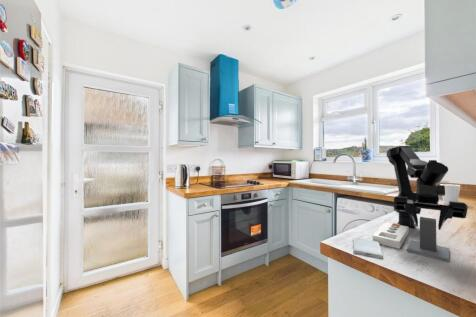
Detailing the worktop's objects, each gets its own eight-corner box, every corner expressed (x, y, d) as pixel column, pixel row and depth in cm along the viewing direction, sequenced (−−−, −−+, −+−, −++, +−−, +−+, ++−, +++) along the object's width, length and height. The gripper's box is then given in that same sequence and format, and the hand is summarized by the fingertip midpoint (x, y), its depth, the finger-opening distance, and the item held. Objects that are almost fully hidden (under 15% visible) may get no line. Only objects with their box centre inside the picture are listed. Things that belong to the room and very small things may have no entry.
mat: (411, 241, 76) (411, 239, 76) (449, 250, 69) (449, 248, 69) (406, 251, 69) (406, 248, 69) (449, 261, 61) (449, 259, 61)
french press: (437, 200, 150) (437, 166, 150) (428, 197, 161) (428, 166, 161) (454, 201, 147) (454, 166, 147) (444, 198, 158) (443, 166, 158)
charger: (420, 244, 72) (420, 216, 72) (436, 248, 69) (436, 219, 69) (419, 248, 69) (419, 219, 69) (436, 252, 66) (436, 221, 66)
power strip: (385, 227, 91) (385, 221, 91) (408, 232, 85) (408, 225, 86) (372, 241, 76) (372, 233, 76) (399, 248, 70) (399, 239, 70)
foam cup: (462, 206, 131) (462, 186, 131) (443, 204, 136) (443, 185, 136) (457, 203, 139) (456, 184, 139) (438, 201, 144) (438, 183, 144)
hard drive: (353, 237, 78) (353, 249, 68) (378, 241, 74) (383, 255, 64) (353, 241, 78) (353, 254, 68) (378, 245, 74) (383, 260, 64)
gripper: (393, 175, 78) (391, 209, 70) (466, 178, 66) (473, 219, 57) (395, 192, 84) (393, 226, 76) (462, 198, 71) (468, 239, 63)
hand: (428, 227), depth 68 cm, fingers open, 5 cm apart
